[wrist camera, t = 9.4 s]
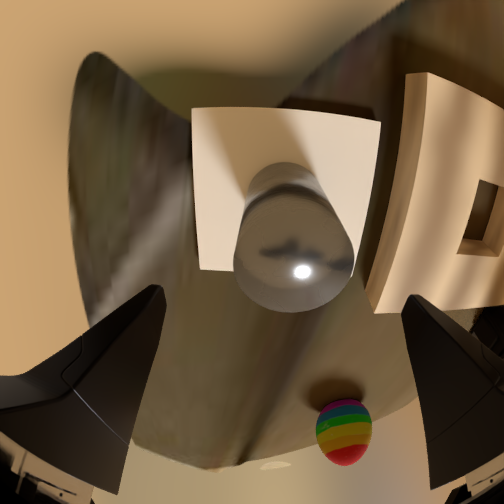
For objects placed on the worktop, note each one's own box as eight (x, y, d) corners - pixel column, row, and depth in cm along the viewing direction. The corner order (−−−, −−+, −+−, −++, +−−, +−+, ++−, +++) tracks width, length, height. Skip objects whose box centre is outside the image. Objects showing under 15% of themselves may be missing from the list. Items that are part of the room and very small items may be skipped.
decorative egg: (306, 404, 34) (309, 467, 25) (361, 388, 31) (373, 452, 23) (323, 421, 37) (327, 474, 29) (371, 407, 35) (380, 461, 26)
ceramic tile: (376, 121, 15) (380, 122, 14) (349, 270, 21) (351, 276, 21) (194, 107, 16) (191, 108, 15) (202, 263, 22) (200, 269, 21)
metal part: (325, 165, 16) (366, 214, 10) (316, 234, 19) (340, 313, 12) (247, 160, 17) (232, 206, 10) (246, 230, 19) (233, 309, 12)
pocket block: (537, 140, 12) (556, 148, 10) (491, 288, 22) (503, 304, 19) (405, 74, 13) (427, 72, 10) (364, 290, 22) (374, 313, 20)
